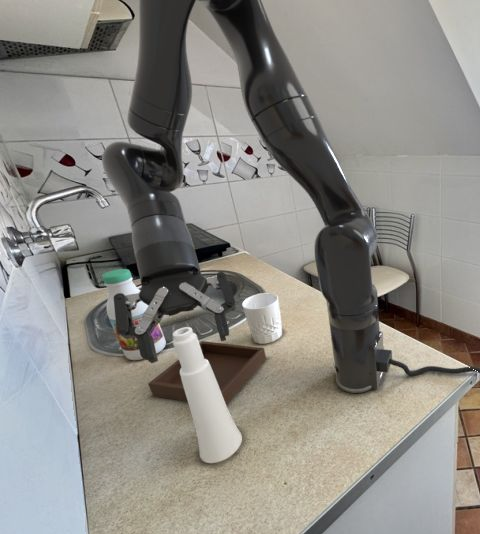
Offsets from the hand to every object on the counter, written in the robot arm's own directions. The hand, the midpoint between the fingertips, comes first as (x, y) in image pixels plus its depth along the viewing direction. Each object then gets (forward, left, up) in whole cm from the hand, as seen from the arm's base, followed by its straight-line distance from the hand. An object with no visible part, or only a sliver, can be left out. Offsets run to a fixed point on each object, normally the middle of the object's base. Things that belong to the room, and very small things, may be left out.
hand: (190, 349), depth 46 cm
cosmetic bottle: (-1, +1, -18) cm, 18 cm away
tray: (+12, -13, -18) cm, 25 cm away
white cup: (+9, -28, -18) cm, 35 cm away
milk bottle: (+34, -18, -18) cm, 43 cm away
